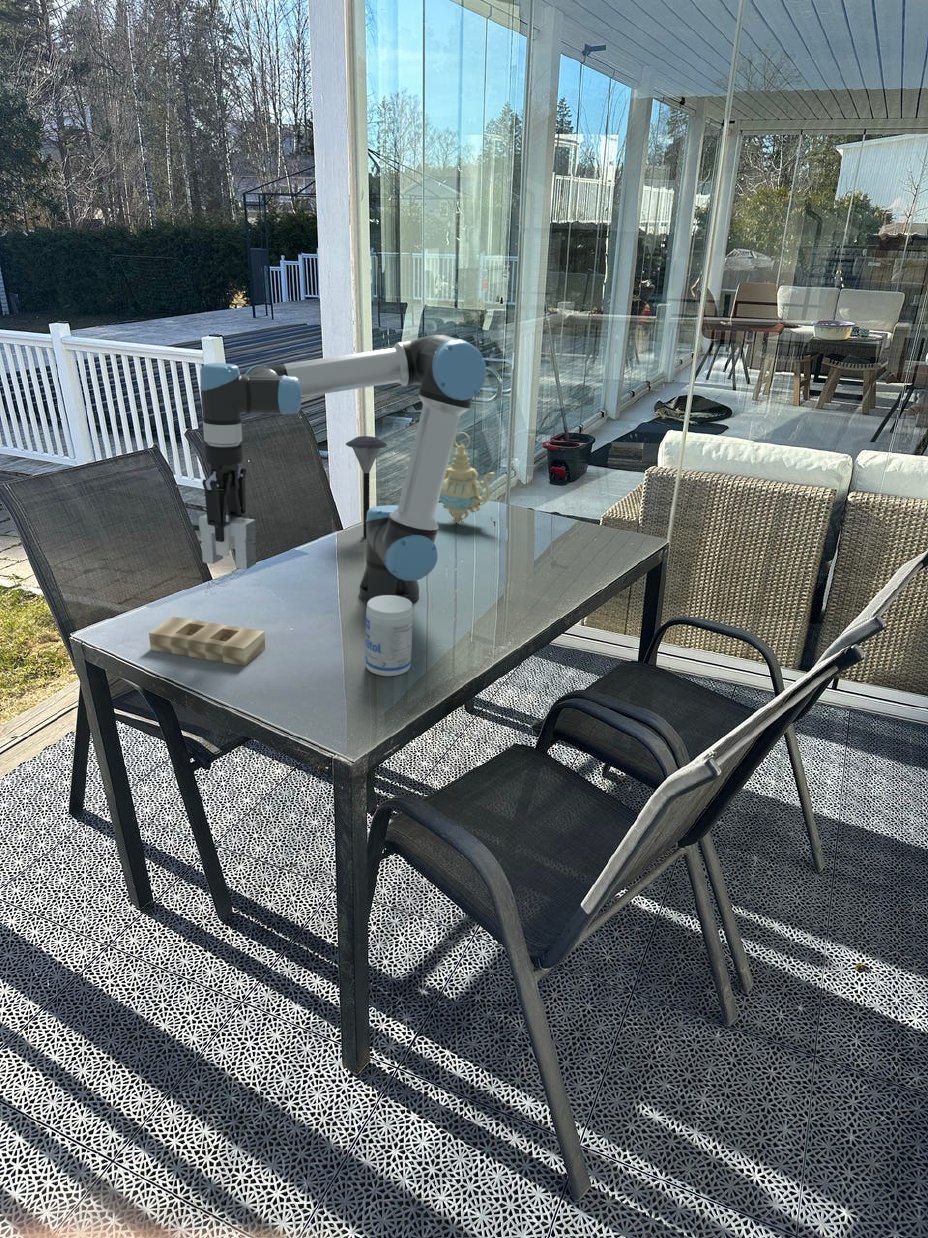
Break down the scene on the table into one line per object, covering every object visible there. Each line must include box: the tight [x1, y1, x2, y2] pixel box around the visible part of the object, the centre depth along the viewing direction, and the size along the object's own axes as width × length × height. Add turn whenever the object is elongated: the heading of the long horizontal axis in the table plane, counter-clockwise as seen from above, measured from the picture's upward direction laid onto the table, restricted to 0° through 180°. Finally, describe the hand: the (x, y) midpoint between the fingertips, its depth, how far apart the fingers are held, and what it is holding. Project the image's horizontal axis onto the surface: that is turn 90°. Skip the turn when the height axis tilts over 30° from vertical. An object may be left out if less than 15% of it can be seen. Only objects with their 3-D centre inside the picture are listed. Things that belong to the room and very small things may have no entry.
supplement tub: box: [364, 595, 414, 677], centre depth 169 cm, size 10×10×15 cm
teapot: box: [438, 431, 496, 525], centre depth 260 cm, size 24×12×30 cm, turn 60°
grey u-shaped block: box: [198, 513, 257, 571], centre depth 175 cm, size 11×4×10 cm, turn 74°
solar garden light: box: [345, 435, 388, 538], centre depth 244 cm, size 12×12×30 cm
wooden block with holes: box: [148, 616, 266, 667], centre depth 175 cm, size 22×9×4 cm, turn 76°
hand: (228, 551), depth 176 cm, fingers closed on grey u-shaped block, 4 cm apart
